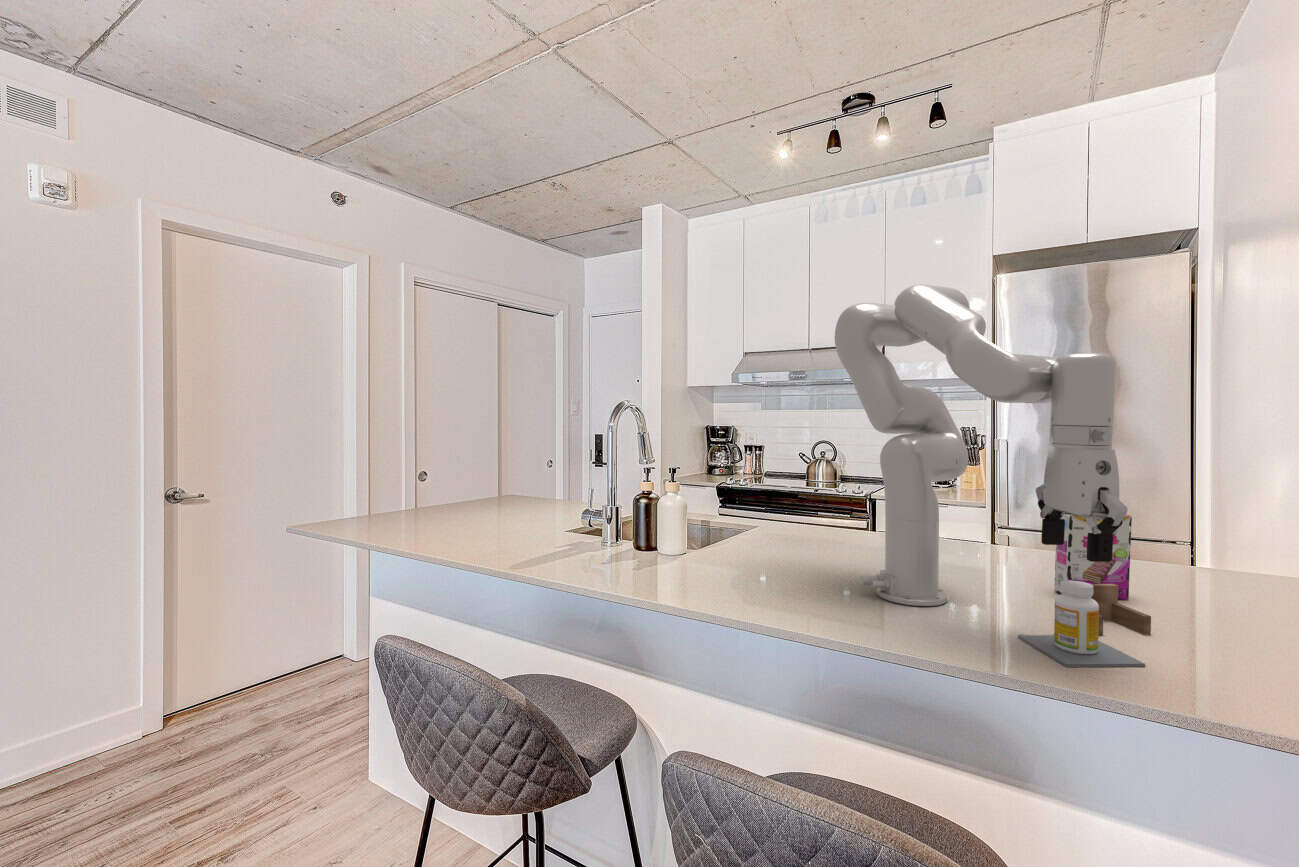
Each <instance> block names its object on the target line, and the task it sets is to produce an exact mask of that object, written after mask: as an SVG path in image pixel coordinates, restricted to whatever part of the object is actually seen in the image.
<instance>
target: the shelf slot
mask: <svg viewBox="0 0 1299 867" xmlns="http://www.w3.org/2000/svg"><path fill="white" fill-rule="evenodd" d="M1091 585H1093V596H1091V598H1092V599H1094V600H1095V601H1096V602H1097V603H1098V605H1099V636H1104V621H1111V622H1114V623H1116V624H1118V625H1121V626H1123V627H1125V628H1127V629H1130V630H1132V631H1135V632H1137V633H1139V634H1141V635H1144V636H1151V634H1152V633H1151V630H1152V628H1151V627H1152V626H1151V625H1152V616H1151V615H1150V614H1147V613H1143V612H1141V611H1139V610H1136V609H1134V608H1131V607H1129V606H1126V605H1123V604H1121V603H1119V602H1118V601H1119V600H1118V585H1115V584H1091Z"/></svg>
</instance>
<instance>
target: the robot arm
mask: <svg viewBox="0 0 1299 867" xmlns="http://www.w3.org/2000/svg"><path fill="white" fill-rule="evenodd" d="M986 324H987V323H986V320H985V318H984V317H983V316H982V315H980V314H979V313H977V312H976V311H974V310H973V309H971V307H970V303H969V300H968V299H967V296H966V295H965V294H964V293H963V292H961V291H960V290H958V289H956V288H952V287H945V286H937V285H932V284H931V285H930V284H915V285H911V286H909V287H906V288H905V289H903V290H902V291H901V292H900V293H899V294H898V295H897V297H896V298H895V300H894V304H884V303H875V302H862V303H856V304H852V305H851V306H848V307H847V308H845V309H844V310H843V311H842V312H841V313H840V316H838V319H837V320H836V326H835V329H834V347H835V349H836V353H837V355H838V358H839V361H840V363H841V364H842V365H843V367H844V369H845V371H846V372H847V375H848V377H849V378H850V379H851V381H852V384H853V385H854V386H853V387H854V389H855V391H856V394H857V395H858V398H859V400H860V402H861V405H862V407H863V409H864V411H865V414H866V416H867V418H868V420H869V422H870V424H871V426H872V427H873V429H874V430H876V431H877V432H879V433H881V434H886V435H887V434H889V435H890V434H891V435H896V434H897V435H896V436H893V437H892V438H890V439H888V440H887V442H885V444H884V445H883V447H882V449H881V450H880V451H881V452H880V455H879V463H880V464H879V465H880V470H881V476H882V479H883V488H884V501H885V502H884V516H885V520H884V522H885V525H884V529H885V535H884V536H885V538H884V540H885V541H884V544H885V545H884V569H880V570H879V573H876V574H875V575H860V577H859V584H860V586H865V587H866V586H868V587H869V586H870V587H871V588H872V589H876V594H877V596H879V597H880V598H881V599H883V600H886V601H888V602H891V603H896V604H900V605H906V606H913V607H914V606H915V607H935V606H940V605H944V604H945V603H947V601H948V594H947V593H946V592H945V591H944V590H942V589H940V588H939V583H940V582H939V580H940V579H939V574H940V573H939V570H940V568H939V566H940V565H939V563H940V562H939V561H940V560H939V559H940V554H939V553H940V550H939V549H940V508H939V507H940V506H939V501H938V498H937V495H936V494H937V493H936V492H935V489H934V488H933V485H932V483H934V482H935V483H936V482H945V481H946V482H947V481H953V480H956V479H958V478H959V477H961V476H962V475H964V473H965V472H966V471H967V468H968V465H969V452H968V448H967V446H966V443H965V441H964V439H963V437H962V435H961V433H960V431H959V429H958V427H957V425H956V423H955V421H954V419H953V417H952V416H951V414H950V411H949V410H948V408H947V406H946V405H945V404H946V403H945V402H944V401H943V400H942V398H941V397H940V396H939V395H938V394H937V393H935V392H934V391H933V390H931V389H929V388H925V387H917V386H914V387H913V386H906V385H905V384H904V383H903V382H902V380H901V379H900V377H899V376H898V373H897V371H896V368H895V366H894V365H893V363H892V361H891V360H890V359H889V358H888V357H887V356H886V355H885V354H884V353H883V352H882V351H880V350H879V348H878V347H877V346H880V347H881V346H882V347H896V348H897V347H907V346H911V345H915V344H918V343H922V342H927V343H928V344H930V345H931V346H933V347H934V348H935V349H936V350H938V351H940V352H941V353H942V354H943V355H944V356H945V359H946V361H947V363H948V366H949V367H950V369H951V371H952V372H953V373H954V375H956V377H958V378H959V379H960V380H961V381H963V382H964V383H966V384H967V385H968V386H969V387H971V388H972V389H974V390H975V391H977V392H978V393H979V394H981V395H983V396H984V397H986V398H988V399H990V400H993V401H995V402H999V403H1007V404H1018V403H1020V404H1022V403H1023V404H1047V403H1050V419H1049V420H1050V422H1049V443H1048V447H1049V448H1048V450H1047V455H1046V461H1045V470H1044V476H1043V483H1042V484H1041V485H1039V486H1038V487H1036V488H1035V493H1036V498H1037V506H1038V507H1039V510H1040V513H1039V516H1040V518H1042V520H1041V522H1042V523H1041V541H1040V542H1041V544H1042V545H1045V546H1050V545H1051V546H1056V545H1063V544H1064V531H1065V520H1064V519H1060V518H1062V516H1063V515H1064V514H1065V513H1067V514H1071V515H1075V516H1079V517H1085V518H1086V520H1087V523H1088V525H1089V527H1090V529H1091V531H1092V533H1088V538H1087V560H1088V561H1091V562H1110V561H1111V560H1112V550H1113V534H1116V533H1117V529H1118V528H1119V527H1120V526H1121V525H1122V520H1123V519H1124V517H1125V515H1126V514H1127V513H1128V507H1127V505H1125V503H1123V502H1122V501H1121V500H1120V474H1119V464H1118V457H1117V453H1116V450H1115V449H1112V448H1113V431H1114V429H1113V428H1114V415H1115V414H1114V413H1115V393H1116V391H1115V390H1116V376H1117V375H1116V373H1117V363H1116V360H1115V358H1114V357H1113V355H1111V354H1108V353H1102V352H1101V353H1100V352H1085V353H1084V352H1080V353H1068V354H1067V353H1066V354H1062V355H1060V356H1058V357H1056V356H1046V355H1045V356H1044V355H1032V354H1021V353H1018V354H1017V353H1014V354H1013V353H1011V352H1009V351H1007V350H1005V349H1004V348H1001V347H1000V346H998V345H997V344H995V343H993V342H992V341H990V340H989V339H987V338H986V337H985V336H984V335H985V332H986V329H987V325H986ZM1097 519H1101V520H1102V521H1101V522H1100V523H1098V521H1097Z"/></svg>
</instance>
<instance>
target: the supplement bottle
mask: <svg viewBox="0 0 1299 867" xmlns="http://www.w3.org/2000/svg"><path fill="white" fill-rule="evenodd" d="M1060 591H1061V592H1062V594H1058V595H1056V596H1055V598H1054V623H1053V624H1054V626H1053V628H1054V629H1053V631H1054V634H1053V635H1054V643H1055V645H1056V646H1057V647H1058V648H1060V649H1062V650H1065V651H1068V652H1072V653H1076V654H1095V653H1097V652H1098V640H1099V639H1100V638H1099V636H1100V635H1099V605H1098V603H1097V602H1096V601H1095V600H1094V599H1092V598H1091V596H1093V585H1091V584H1089V583H1085V582H1080V581H1070V580H1067V581H1061V584H1060Z"/></svg>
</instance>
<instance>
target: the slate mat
mask: <svg viewBox="0 0 1299 867" xmlns="http://www.w3.org/2000/svg"><path fill="white" fill-rule="evenodd" d="M1017 638H1018V639H1019V640H1021V641H1023V642H1024V643H1025V644H1027V645H1029V646H1031V647H1032V648H1034V649H1035V650H1037V651H1039V652H1040V653H1042V654H1044V655H1046V656H1047V657H1049V658H1051V659H1053V660H1054V661H1055V662H1057V663H1059V664H1061V665H1062V666H1064V667H1065V668H1108V667H1109V668H1116V667H1117V668H1121V667H1122V668H1123V667H1124V668H1125V667H1126V668H1127V667H1128V668H1130V667H1132V668H1134V667H1137V668H1139V667H1140V668H1142V667H1143V668H1144V667H1146V663H1145V662H1143V661H1140V660H1139V659H1136V658H1134V657H1133V656H1130V655H1129V654H1126V653H1125V652H1122V651H1121V650H1119V649H1116V648H1115V647H1112V646H1111V645H1109V644H1106V643H1104V642H1102V641H1100V640H1099V639H1098V652H1097V653H1095V654H1076V653H1072V652H1068V651H1065V650H1062V649H1060V648H1058V647H1057V646H1056V645H1055V643H1054V634H1052V635H1050V634H1039V635H1037V634H1033V635H1029V634H1027V635H1024V634H1022V635H1021V634H1020V635H1019V634H1018V636H1017Z"/></svg>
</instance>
